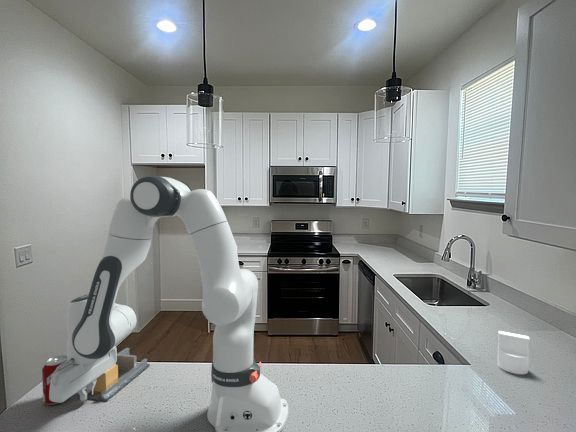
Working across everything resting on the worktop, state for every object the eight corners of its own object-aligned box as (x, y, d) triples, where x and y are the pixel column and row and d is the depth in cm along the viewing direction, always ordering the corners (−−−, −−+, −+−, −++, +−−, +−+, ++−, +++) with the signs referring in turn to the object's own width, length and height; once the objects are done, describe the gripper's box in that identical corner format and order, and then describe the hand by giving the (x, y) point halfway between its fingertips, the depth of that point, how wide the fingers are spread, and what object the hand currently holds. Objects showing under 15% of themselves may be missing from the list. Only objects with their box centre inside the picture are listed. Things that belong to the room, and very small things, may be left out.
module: (118, 383, 98) (117, 362, 98) (106, 392, 93) (105, 370, 93) (104, 381, 99) (104, 360, 99) (91, 390, 94) (91, 369, 94)
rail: (149, 366, 110) (149, 350, 110) (107, 401, 90) (106, 382, 90) (124, 363, 112) (124, 347, 112) (77, 397, 92) (77, 378, 92)
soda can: (38, 408, 87) (37, 367, 87) (49, 394, 94) (48, 355, 93) (65, 404, 89) (64, 364, 88) (75, 390, 95) (74, 353, 95)
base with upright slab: (526, 365, 112) (527, 333, 112) (529, 377, 105) (531, 342, 104) (496, 358, 117) (497, 327, 117) (497, 369, 110) (499, 336, 109)
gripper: (62, 371, 78) (63, 424, 79) (120, 336, 98) (121, 379, 99) (41, 368, 79) (43, 420, 80) (103, 335, 99) (104, 377, 100)
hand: (86, 397), depth 89 cm, fingers closed
